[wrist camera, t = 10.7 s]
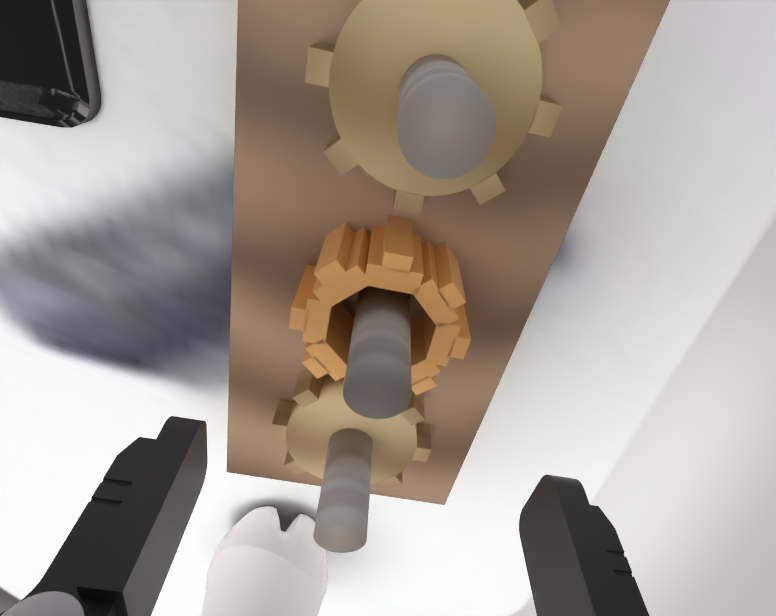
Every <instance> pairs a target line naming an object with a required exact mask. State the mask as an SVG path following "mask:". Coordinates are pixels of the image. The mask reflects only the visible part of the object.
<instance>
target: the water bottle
mask: <svg viewBox="0 0 776 616" xmlns="http://www.w3.org/2000/svg"><path fill="white" fill-rule="evenodd" d="M314 528H315V521H314V520H313V519H312V518H310V517H309V516H307V515H304V514H299V515H298V516H297V517H296V518H295V519H294V521H293V522H292V523H291V525H290V526H289V527H288V529H287V530H286V531H281V529H280V521H279V517H278V513H277V508H274V507H271V506H265V507H259V508H255V509H254V510H252V511H251V512H249V513H247V514H246V515H245V516H244V517H243V518H242V519H241V520H240V521H239V522H238V523H237V524H235V525H234V526H233V527H232V528H231V529H230V530H229V531H228V532H227V534H226V535H225V536H224V537H223V538H222V540H221V541H220V543H219V544H218V546H217V548H216V550H215V553H214V555H213V557H212V560H211V563H210V566H209V569H208V574H207V583H206V591H205V598H204V604H203V610H202V615H201V616H317V615H318V612H319V609H320V605H321V602H322V600H323V597H324V594H325V591H326V586H327V579H328V574H327V559H326V550H325V549H324V548H322V547H320V546H319V545H318V544H317V543H316V542H315V540H314V537H313V534H314Z"/></svg>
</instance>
